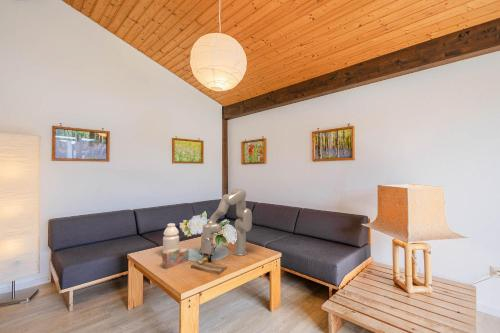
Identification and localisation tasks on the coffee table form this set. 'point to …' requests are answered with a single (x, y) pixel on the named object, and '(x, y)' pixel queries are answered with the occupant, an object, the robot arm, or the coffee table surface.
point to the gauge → (204, 259)
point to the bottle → (170, 237)
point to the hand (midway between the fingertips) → (206, 261)
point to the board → (209, 267)
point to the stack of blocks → (174, 257)
